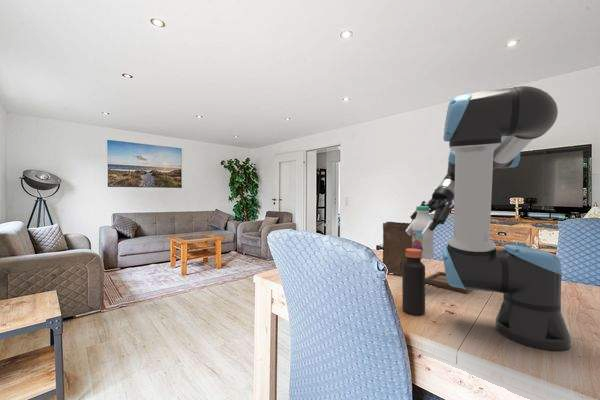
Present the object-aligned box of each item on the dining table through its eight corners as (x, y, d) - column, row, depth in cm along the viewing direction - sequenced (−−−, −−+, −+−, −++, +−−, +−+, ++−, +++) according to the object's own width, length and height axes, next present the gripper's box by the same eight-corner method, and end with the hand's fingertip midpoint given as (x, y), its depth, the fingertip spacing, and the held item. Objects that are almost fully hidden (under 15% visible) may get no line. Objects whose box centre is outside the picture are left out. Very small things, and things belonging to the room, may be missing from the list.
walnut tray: (467, 294, 102) (467, 287, 102) (424, 284, 113) (424, 278, 113) (478, 284, 112) (479, 279, 112) (438, 276, 124) (438, 271, 124)
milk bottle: (428, 254, 108) (429, 205, 108) (436, 259, 101) (437, 206, 100) (409, 254, 109) (409, 205, 109) (415, 259, 101) (415, 206, 101)
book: (422, 276, 125) (422, 223, 124) (417, 280, 119) (417, 224, 119) (386, 270, 135) (386, 221, 135) (381, 273, 130) (381, 222, 129)
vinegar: (421, 317, 82) (421, 252, 82) (399, 311, 86) (399, 250, 86) (427, 310, 87) (427, 249, 87) (406, 305, 91) (406, 247, 91)
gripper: (474, 199, 101) (443, 245, 95) (429, 199, 120) (401, 237, 114) (464, 185, 99) (432, 231, 93) (420, 187, 118) (392, 225, 112)
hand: (415, 234), depth 103 cm, fingers closed on milk bottle, 7 cm apart
